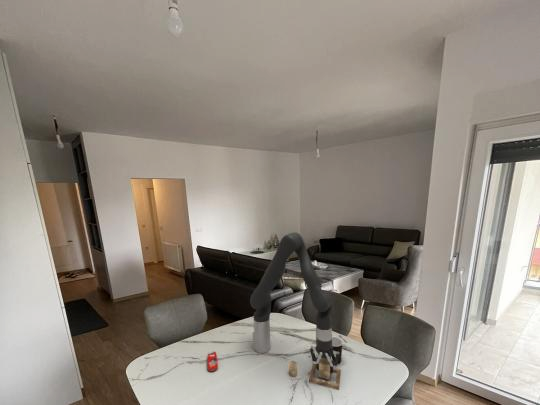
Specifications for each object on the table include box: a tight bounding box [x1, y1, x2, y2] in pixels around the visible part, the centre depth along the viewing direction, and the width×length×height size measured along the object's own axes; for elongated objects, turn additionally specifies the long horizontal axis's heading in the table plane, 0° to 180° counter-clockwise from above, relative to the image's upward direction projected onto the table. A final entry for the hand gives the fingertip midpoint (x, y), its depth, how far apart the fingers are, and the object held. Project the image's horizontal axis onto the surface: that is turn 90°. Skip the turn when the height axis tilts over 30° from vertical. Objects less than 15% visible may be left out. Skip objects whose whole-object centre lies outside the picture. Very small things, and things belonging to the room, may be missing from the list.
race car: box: [206, 350, 219, 373], centre depth 122 cm, size 13×5×4 cm, turn 16°
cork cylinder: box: [288, 360, 298, 378], centre depth 113 cm, size 4×4×5 cm
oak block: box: [318, 358, 331, 380], centre depth 111 cm, size 5×5×6 cm
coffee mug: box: [332, 336, 344, 365], centre depth 124 cm, size 12×9×10 cm
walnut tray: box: [308, 362, 342, 391], centre depth 111 cm, size 14×12×2 cm
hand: (325, 371), depth 111 cm, fingers closed on oak block, 5 cm apart
